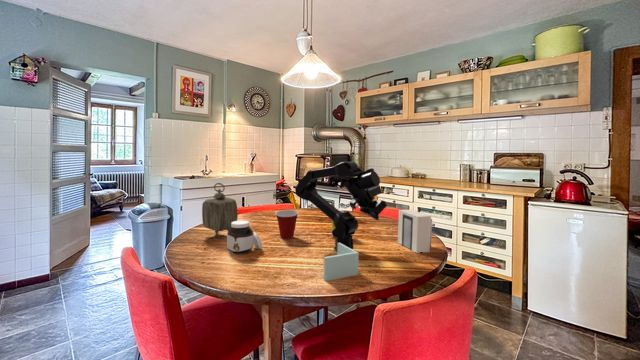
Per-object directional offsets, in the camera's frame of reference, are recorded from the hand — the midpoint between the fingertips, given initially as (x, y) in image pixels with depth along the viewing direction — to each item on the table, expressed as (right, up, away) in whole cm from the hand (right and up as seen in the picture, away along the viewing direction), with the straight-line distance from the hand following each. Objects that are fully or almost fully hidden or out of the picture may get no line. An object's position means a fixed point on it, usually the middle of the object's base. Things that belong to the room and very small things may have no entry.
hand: (377, 219), depth 121 cm
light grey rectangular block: (+18, -12, +5) cm, 22 cm away
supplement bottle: (-15, -11, +19) cm, 27 cm away
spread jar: (-53, -12, -2) cm, 55 cm away
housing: (+16, -12, +4) cm, 20 cm away
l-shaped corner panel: (-19, -15, -22) cm, 33 cm away
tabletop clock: (-70, -11, +17) cm, 73 cm away
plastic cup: (-39, -11, +17) cm, 44 cm away
